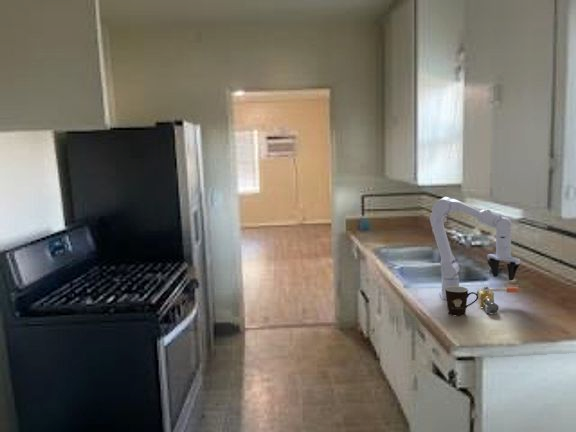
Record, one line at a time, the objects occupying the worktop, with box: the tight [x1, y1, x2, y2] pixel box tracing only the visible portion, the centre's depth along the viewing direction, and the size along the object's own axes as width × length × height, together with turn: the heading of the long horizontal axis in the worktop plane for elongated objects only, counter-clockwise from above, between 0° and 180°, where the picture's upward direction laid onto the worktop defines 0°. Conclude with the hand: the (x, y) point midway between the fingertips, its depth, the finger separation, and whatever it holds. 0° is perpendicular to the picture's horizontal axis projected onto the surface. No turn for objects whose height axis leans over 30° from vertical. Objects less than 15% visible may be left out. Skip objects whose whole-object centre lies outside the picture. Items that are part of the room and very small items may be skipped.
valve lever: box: [482, 286, 520, 293], centre depth 211 cm, size 14×3×2 cm, turn 82°
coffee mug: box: [445, 285, 478, 317], centre depth 204 cm, size 12×9×10 cm
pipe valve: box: [476, 288, 499, 315], centre depth 210 cm, size 20×5×6 cm, turn 172°
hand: (503, 278), depth 215 cm, fingers open, 7 cm apart
